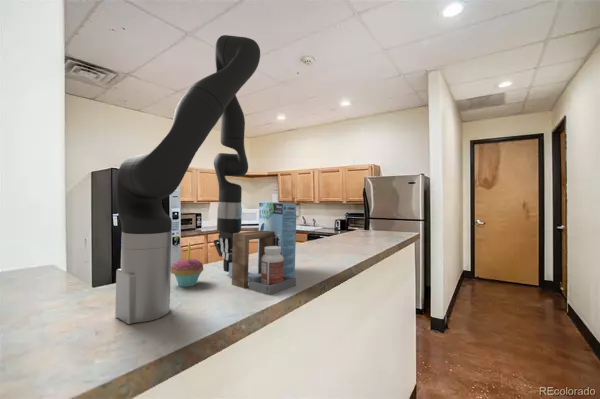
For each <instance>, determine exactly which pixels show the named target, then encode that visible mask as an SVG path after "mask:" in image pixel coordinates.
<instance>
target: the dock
mask: <svg viewBox="0 0 600 399" xmlns="http://www.w3.org/2000/svg"><path fill="white" fill-rule="evenodd" d="M296 280H297V279H296V277H295V278H292V277H288V276H283V281H282V282H279V283H276V284H273V285H270V286H269V285H266V284H262V283H258V282H255V281H248V289H249V290H251V291H254V292H258V293H261V294H265V295H269V296H270V295H274V294H276V293H279V292H281V291H285V290H287V289H290V288H292V287H294V286H297V285H296Z"/></svg>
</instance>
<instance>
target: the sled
mask: <svg viewBox="0 0 600 399" xmlns="http://www.w3.org/2000/svg"><path fill="white" fill-rule="evenodd" d="M228 277H230V278H232V263H229V272H228ZM249 281H255V282H258V283H261V274H258V273H257V274H256V273H251V272H248V282H249Z"/></svg>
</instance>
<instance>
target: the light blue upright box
mask: <svg viewBox="0 0 600 399" xmlns="http://www.w3.org/2000/svg"><path fill="white" fill-rule="evenodd" d="M258 203H259V206H258V231H261V230H264V231H273V232H274V246H279V247H281V253H280V255H282V256H283V258H284V266H283V276H288V277H292V278H296V277H295V276H296V246H297V245H296V244H297V242H296V241H297V239H296V238H297V237H296V236H297V203H294V202H293V203H291V202H277V201H275V202H272V201H259V202H258ZM257 240H258V244H257V246H258V247H257V248H258V249H257V262H258V261H259V239H257Z"/></svg>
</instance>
